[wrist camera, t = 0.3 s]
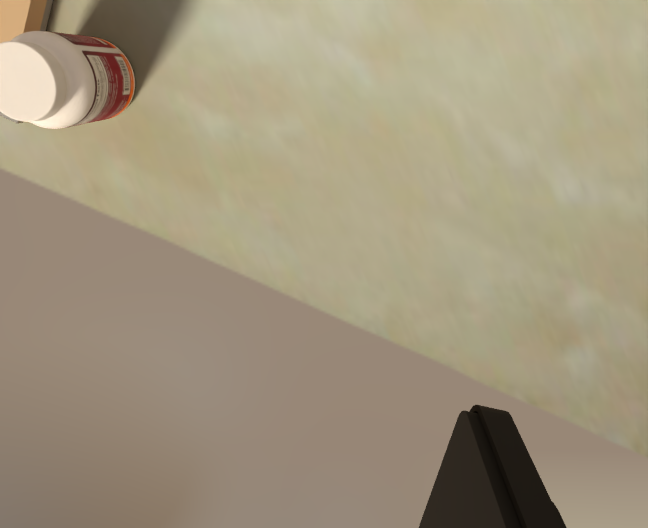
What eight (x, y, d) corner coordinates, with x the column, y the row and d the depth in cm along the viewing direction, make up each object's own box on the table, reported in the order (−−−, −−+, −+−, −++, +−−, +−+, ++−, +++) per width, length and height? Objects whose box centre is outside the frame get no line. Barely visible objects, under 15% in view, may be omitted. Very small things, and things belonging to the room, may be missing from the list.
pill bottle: (46, 79, 42) (-53, 81, 32) (91, 19, 41) (1, 0, 30) (107, 135, 44) (31, 154, 33) (153, 79, 42) (87, 81, 32)
